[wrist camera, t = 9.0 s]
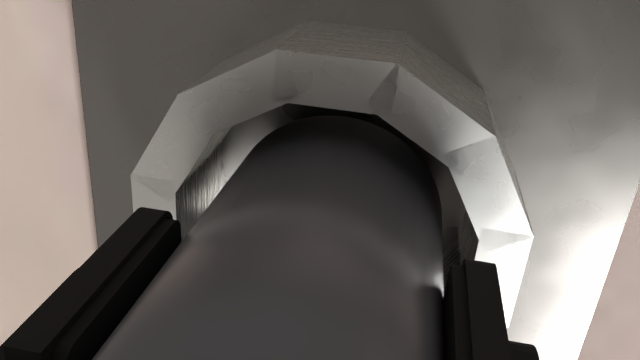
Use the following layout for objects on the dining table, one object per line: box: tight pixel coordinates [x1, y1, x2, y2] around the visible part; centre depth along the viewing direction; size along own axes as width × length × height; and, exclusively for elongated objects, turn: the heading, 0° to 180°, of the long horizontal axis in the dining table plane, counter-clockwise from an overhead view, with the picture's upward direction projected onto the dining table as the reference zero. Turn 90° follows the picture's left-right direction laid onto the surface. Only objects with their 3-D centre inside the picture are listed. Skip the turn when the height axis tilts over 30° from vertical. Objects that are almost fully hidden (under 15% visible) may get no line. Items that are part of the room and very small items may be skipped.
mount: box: [72, 0, 640, 360], centre depth 14 cm, size 14×12×4 cm
